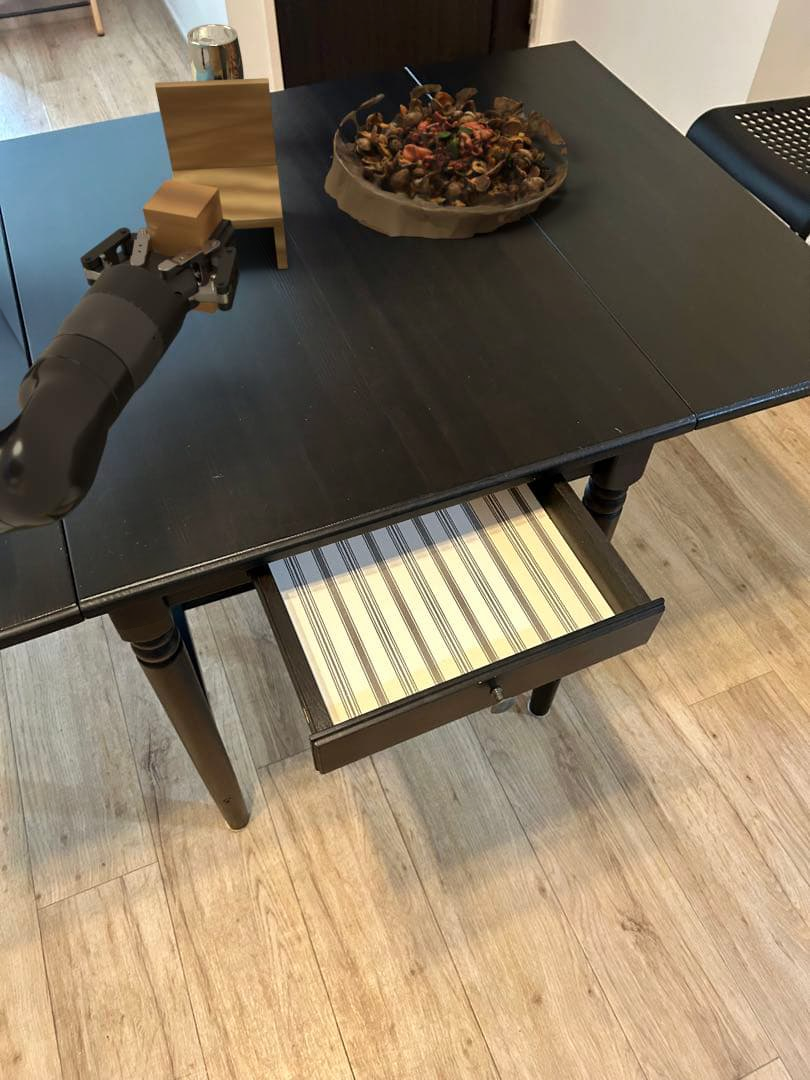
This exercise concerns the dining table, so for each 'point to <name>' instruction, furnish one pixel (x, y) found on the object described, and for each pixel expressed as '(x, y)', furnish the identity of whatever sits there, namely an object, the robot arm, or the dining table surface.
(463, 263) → the dining table surface
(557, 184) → the food dish
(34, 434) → the robot arm
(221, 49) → the silver metal cylinder
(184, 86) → the miniature wooden chair
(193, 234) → the kraft box
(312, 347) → the dining table surface
